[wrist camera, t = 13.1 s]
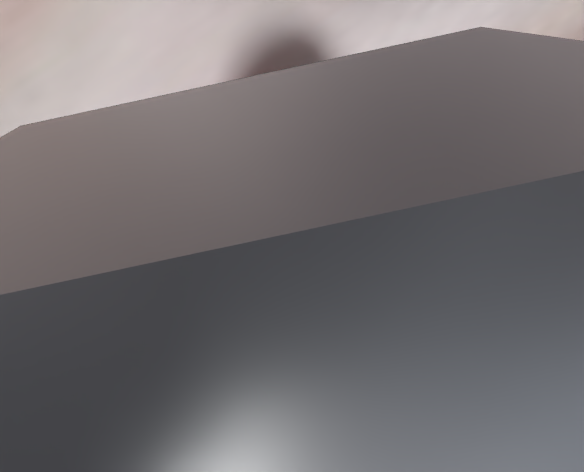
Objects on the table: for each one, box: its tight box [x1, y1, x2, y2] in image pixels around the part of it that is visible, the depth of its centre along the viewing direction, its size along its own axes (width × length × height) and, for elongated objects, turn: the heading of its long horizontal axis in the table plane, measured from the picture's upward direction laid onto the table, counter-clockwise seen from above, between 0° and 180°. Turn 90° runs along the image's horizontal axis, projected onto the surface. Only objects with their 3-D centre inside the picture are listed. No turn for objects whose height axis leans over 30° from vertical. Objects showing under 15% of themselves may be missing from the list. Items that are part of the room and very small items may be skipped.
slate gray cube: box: [0, 27, 584, 472], centre depth 10 cm, size 10×10×9 cm
